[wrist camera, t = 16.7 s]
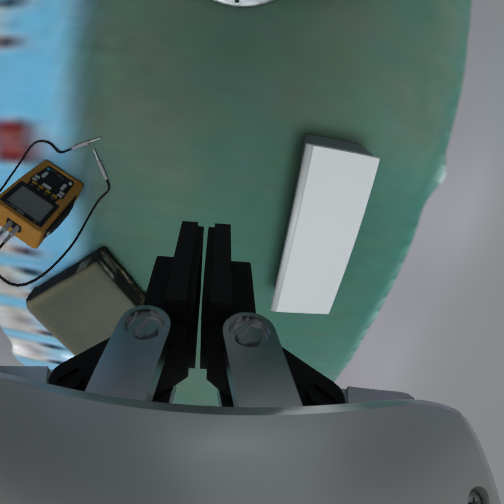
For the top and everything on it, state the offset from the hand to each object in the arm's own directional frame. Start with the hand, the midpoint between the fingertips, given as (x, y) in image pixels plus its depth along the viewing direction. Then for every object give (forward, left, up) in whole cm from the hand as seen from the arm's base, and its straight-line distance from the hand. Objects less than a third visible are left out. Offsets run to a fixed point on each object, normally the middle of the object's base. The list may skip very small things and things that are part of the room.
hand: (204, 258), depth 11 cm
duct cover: (+13, +14, -24) cm, 31 cm away
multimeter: (+6, -20, -29) cm, 36 cm away
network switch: (+34, -19, -30) cm, 49 cm away
